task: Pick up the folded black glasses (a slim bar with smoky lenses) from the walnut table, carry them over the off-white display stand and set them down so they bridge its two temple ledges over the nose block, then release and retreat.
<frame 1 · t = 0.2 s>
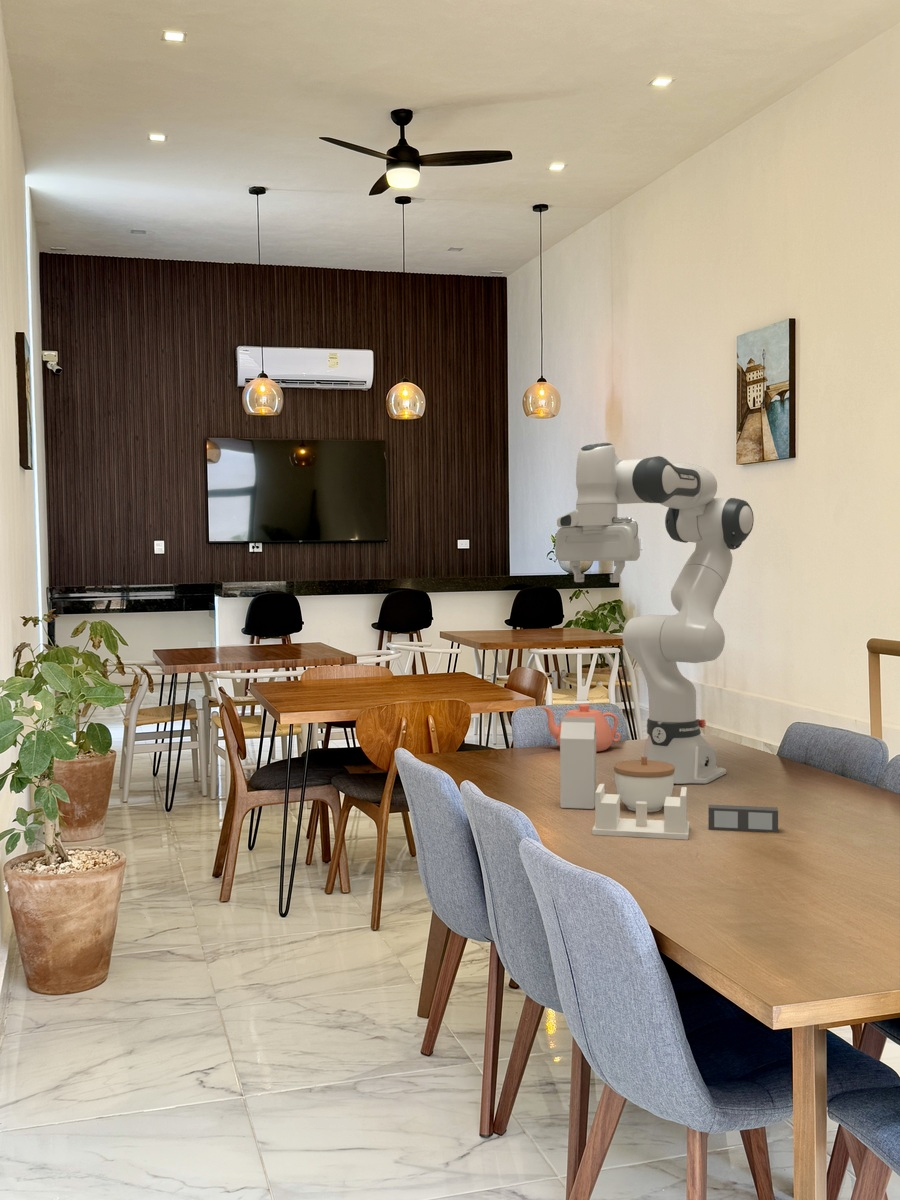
hand: (596, 582, 235), 48 cm above the table, fingers open, 8 cm apart
teapot: (580, 750, 299), on the table
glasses: (742, 830, 211), on the table
milk carton: (578, 806, 233), on the table
lidded bowl: (644, 809, 229), on the table
stand: (641, 830, 211), on the table
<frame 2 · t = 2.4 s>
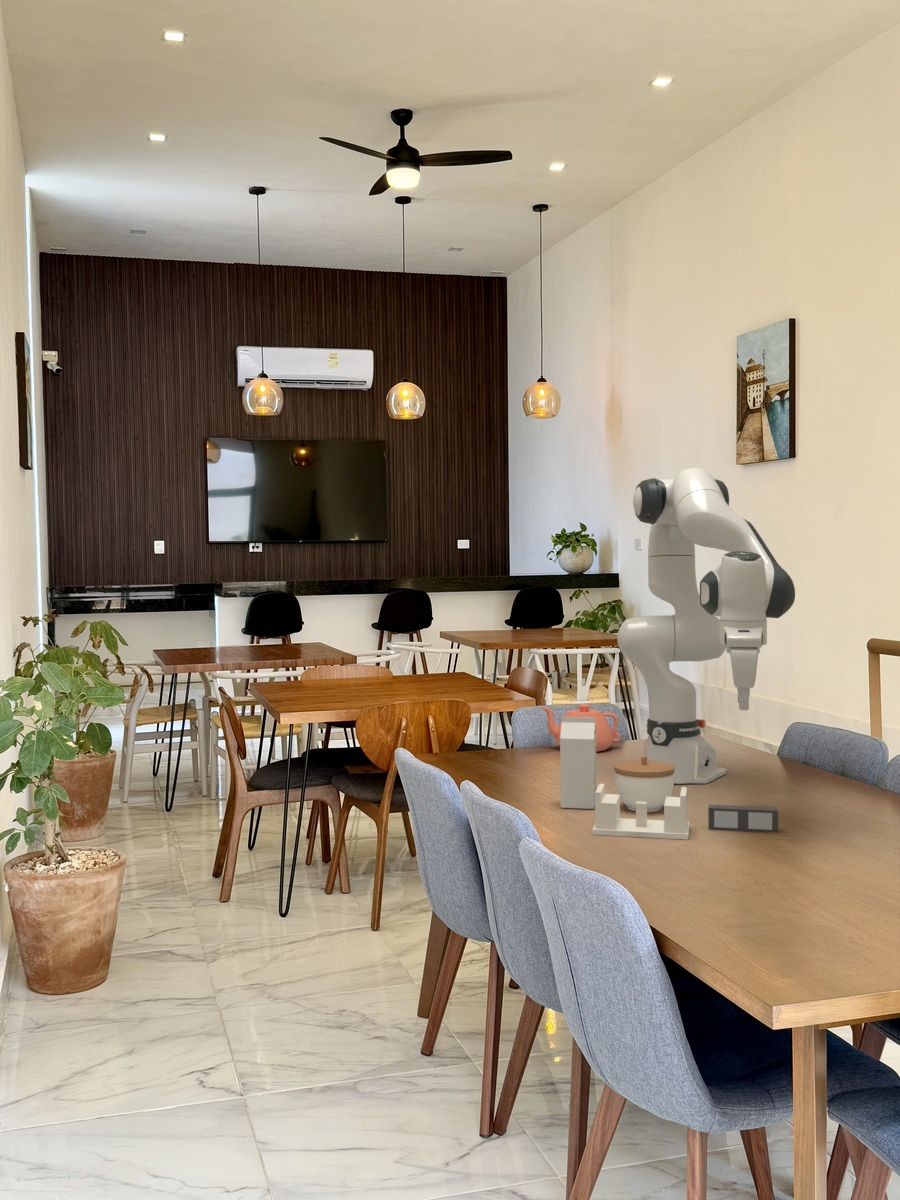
hand: (743, 706, 210), 24 cm above the table, fingers open, 8 cm apart
nothing on the table moved.
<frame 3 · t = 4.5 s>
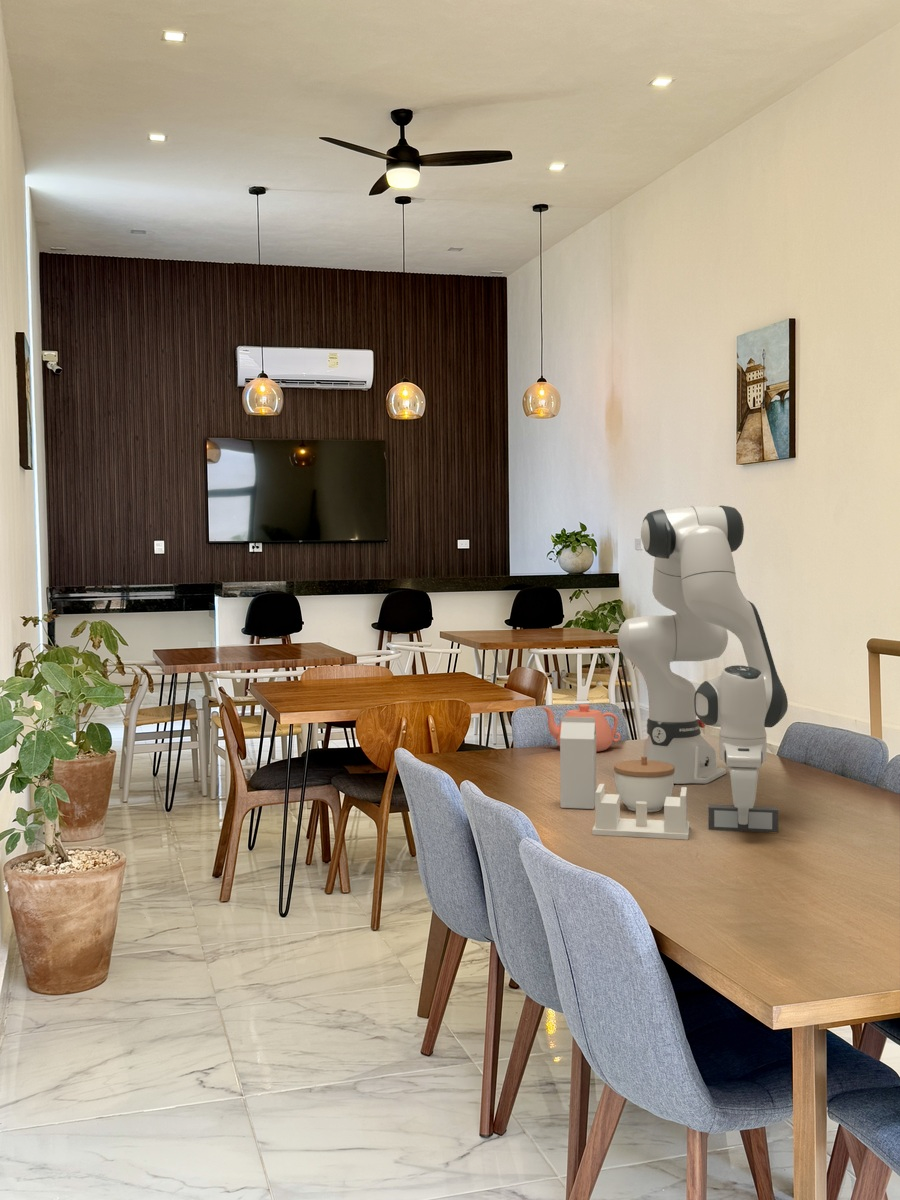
hand: (742, 820, 211), 2 cm above the table, fingers closed on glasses, 3 cm apart
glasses: (742, 830, 211), on the table, touching gripper
everything else where it was.
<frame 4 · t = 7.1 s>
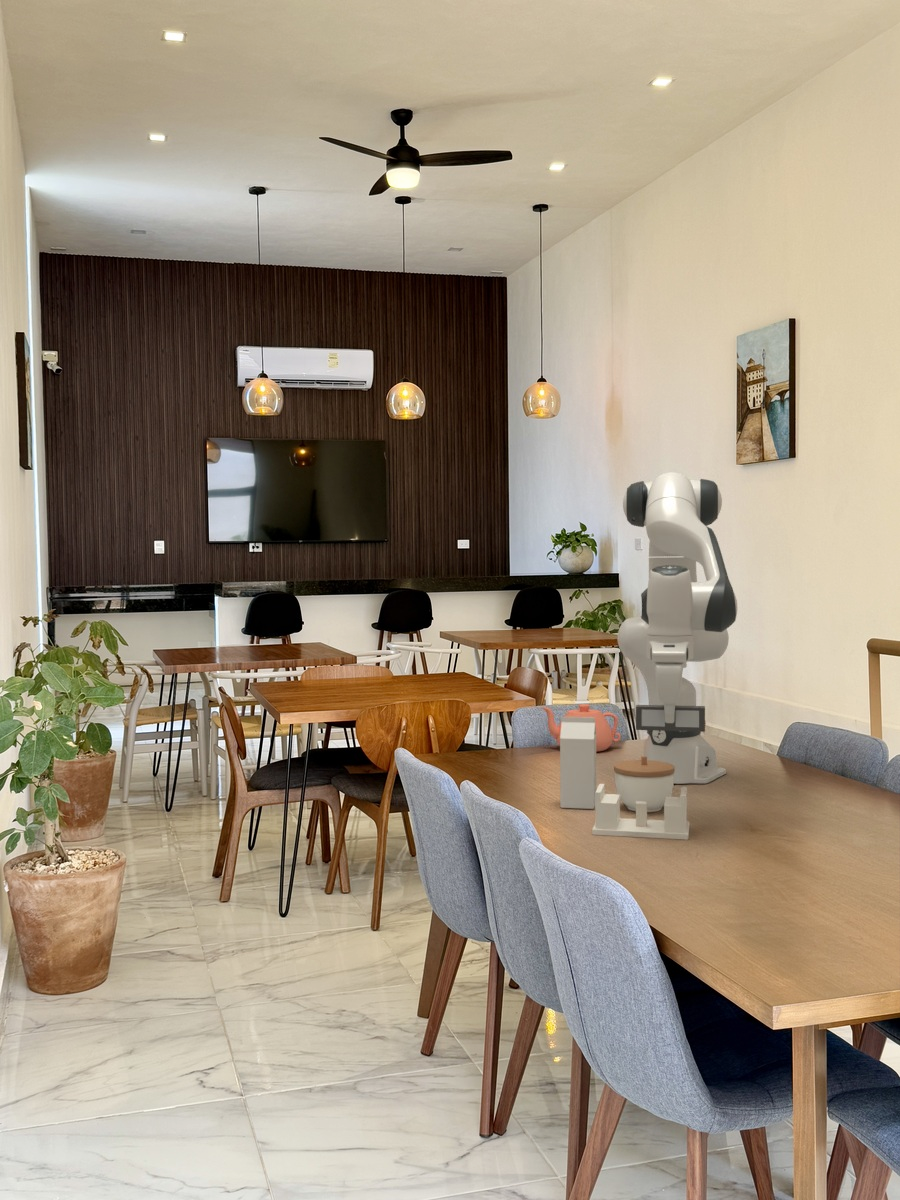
hand: (669, 721, 210), 21 cm above the table, fingers closed on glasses, 3 cm apart
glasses: (670, 729, 210), point 20 cm above the table, touching gripper
everything else where it was.
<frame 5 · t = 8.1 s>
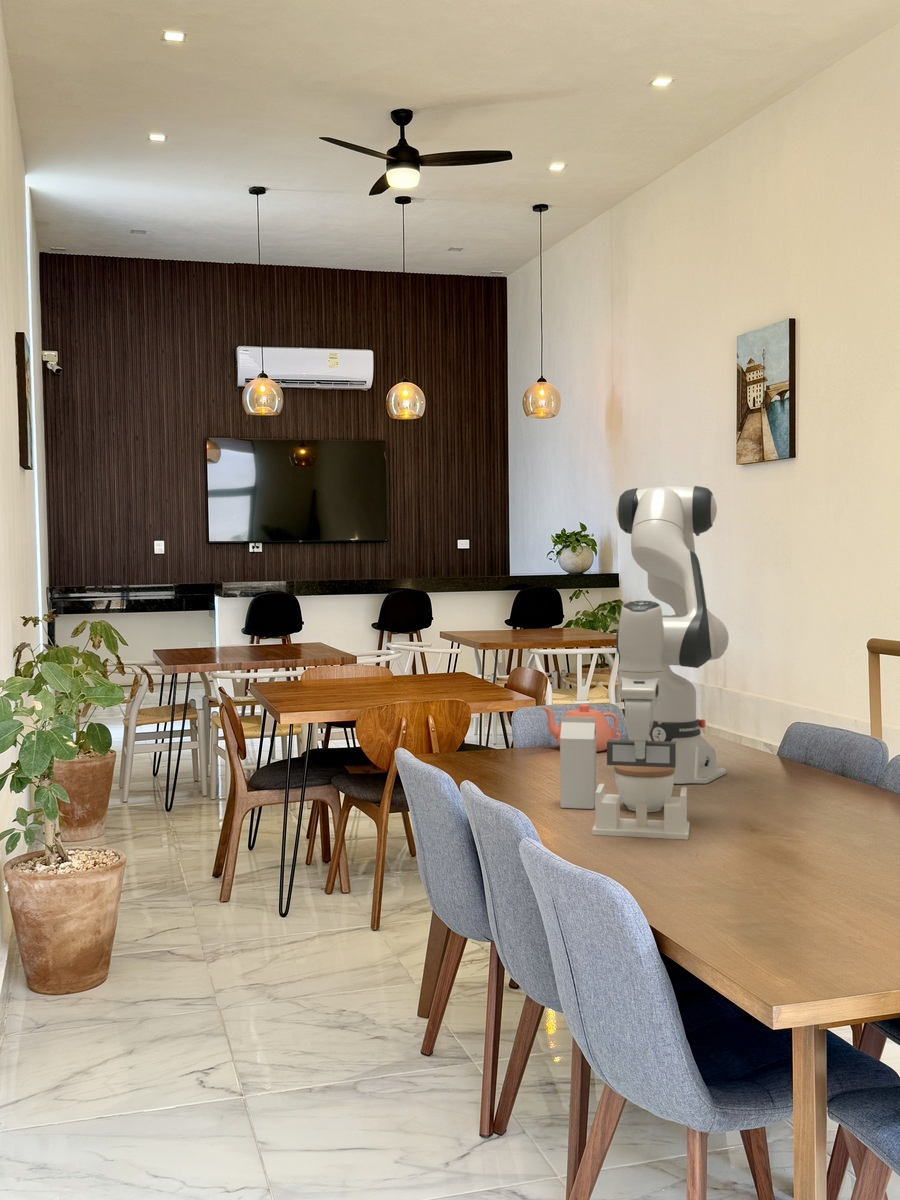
hand: (641, 756, 210), 15 cm above the table, fingers closed on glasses, 3 cm apart
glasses: (641, 764, 210), point 13 cm above the table, touching gripper
everything else where it was.
when the fingers open (9 cm above the table, at t = 9.1 s): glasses drops 1 cm, resting on stand.
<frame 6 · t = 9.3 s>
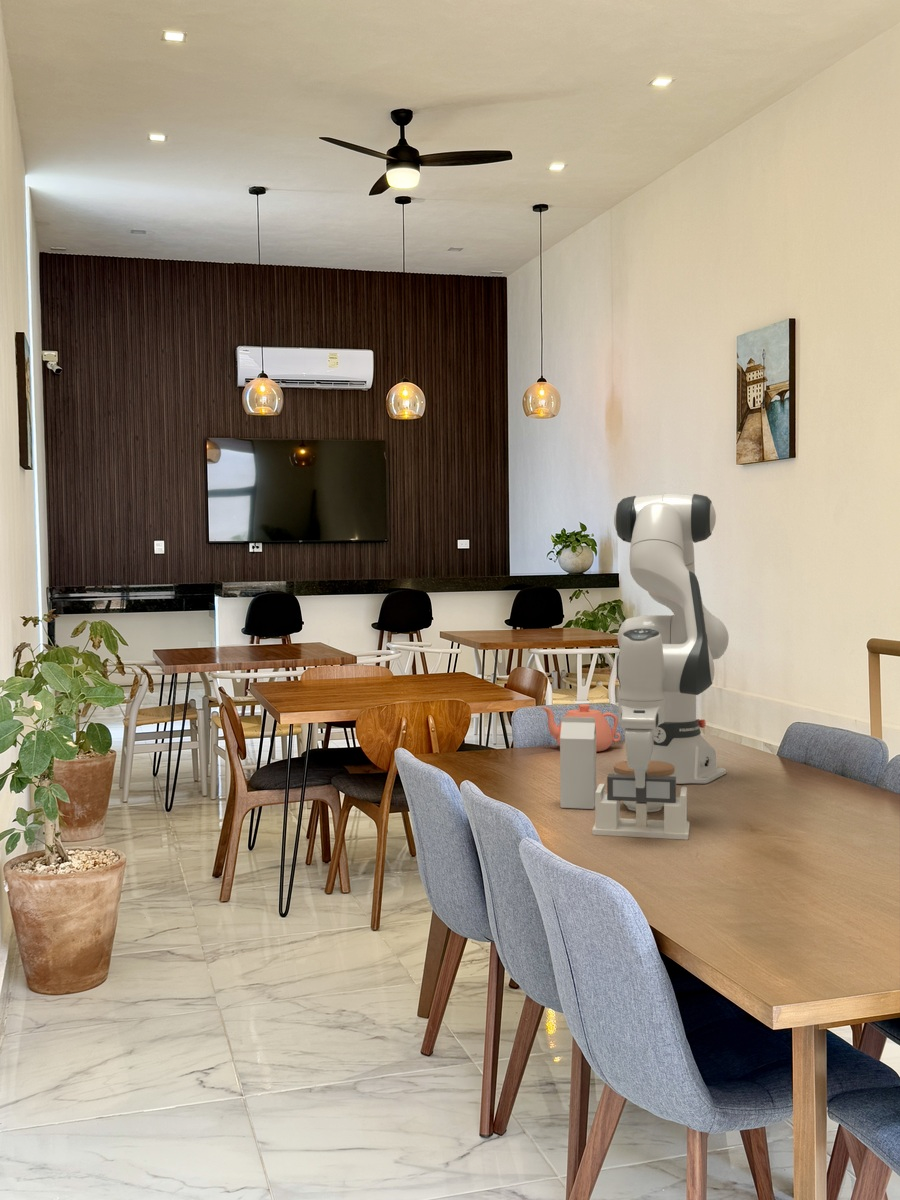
hand: (641, 784, 210), 9 cm above the table, fingers open, 5 cm apart
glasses: (641, 799, 211), point 6 cm above the table, touching stand
everything else where it was.
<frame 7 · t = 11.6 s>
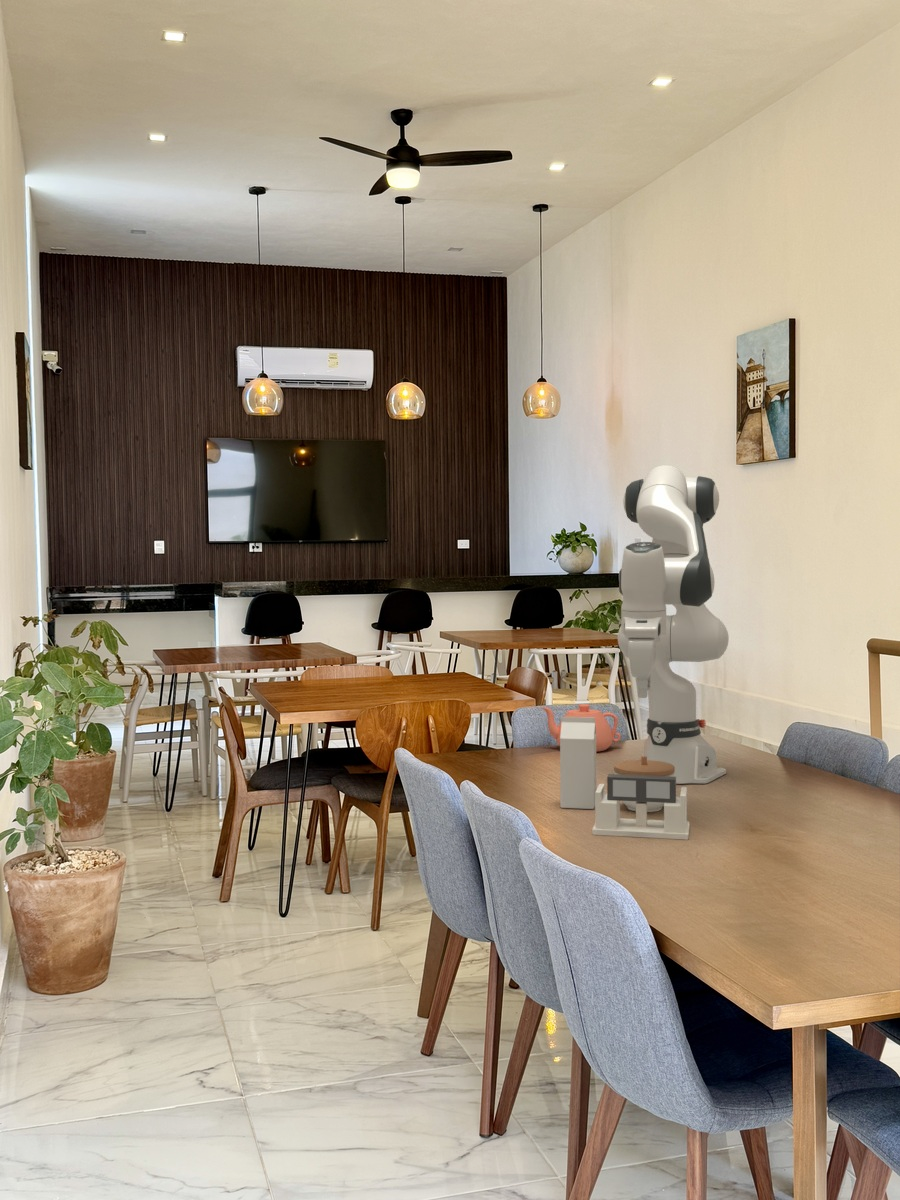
hand: (644, 693, 217), 26 cm above the table, fingers open, 8 cm apart
nothing on the table moved.
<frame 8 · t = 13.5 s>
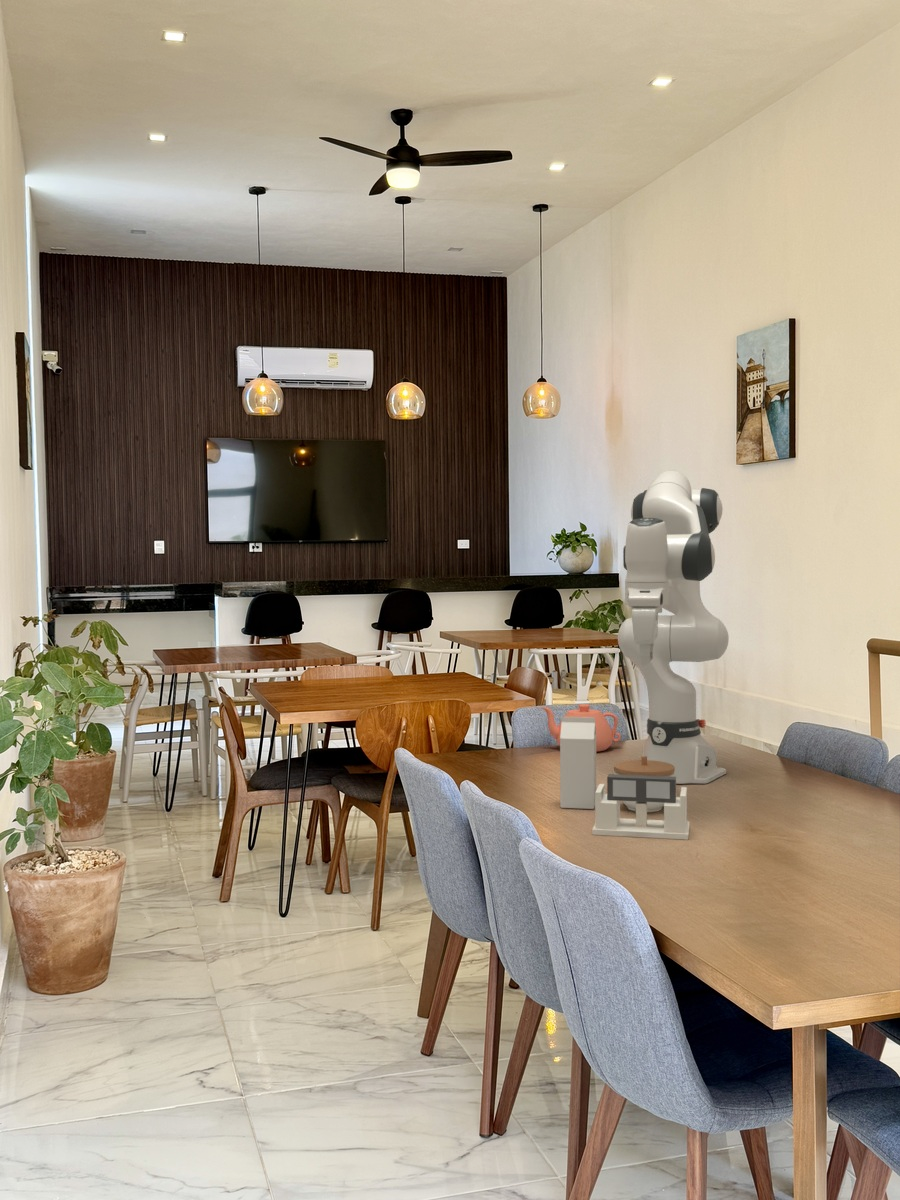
hand: (646, 662, 225), 31 cm above the table, fingers open, 8 cm apart
nothing on the table moved.
at the end: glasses 0.2 cm off-centre on the stand, point 6.0 cm above the stand's base; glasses tilted 0°; the gripper is holding nothing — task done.
